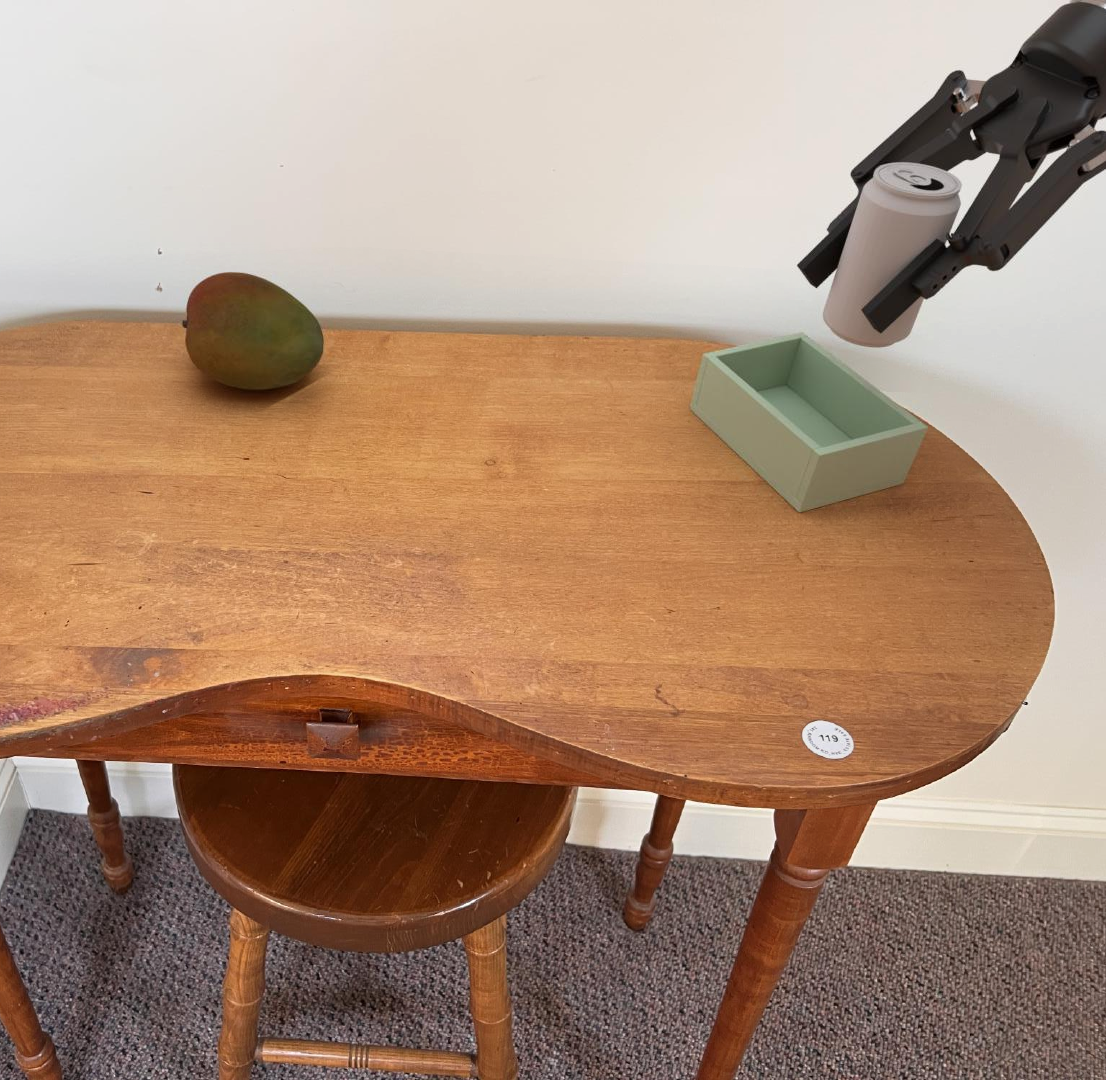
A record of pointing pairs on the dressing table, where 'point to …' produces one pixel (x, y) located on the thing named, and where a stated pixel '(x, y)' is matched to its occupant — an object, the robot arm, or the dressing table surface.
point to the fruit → (250, 332)
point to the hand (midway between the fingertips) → (838, 298)
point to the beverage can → (889, 245)
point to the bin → (805, 420)
